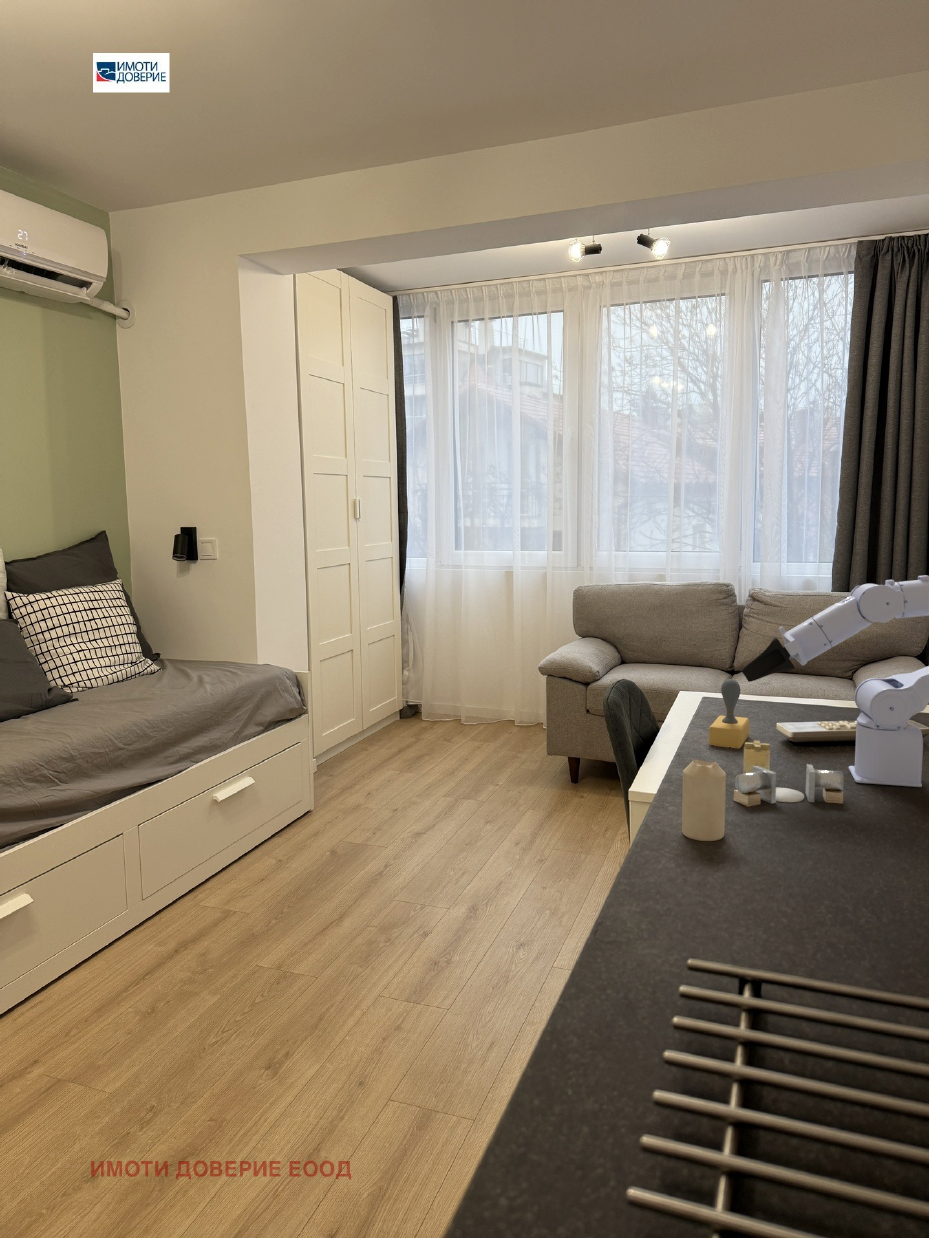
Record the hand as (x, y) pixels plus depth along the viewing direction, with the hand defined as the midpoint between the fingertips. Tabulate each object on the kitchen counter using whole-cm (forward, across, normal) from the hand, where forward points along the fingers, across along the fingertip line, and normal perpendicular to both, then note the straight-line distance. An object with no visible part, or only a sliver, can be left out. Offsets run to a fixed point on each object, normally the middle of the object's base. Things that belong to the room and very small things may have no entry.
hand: (745, 676), depth 136 cm
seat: (+5, +7, +18) cm, 20 cm away
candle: (+16, +26, +16) cm, 35 cm away
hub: (+7, -1, +15) cm, 17 cm away
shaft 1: (+9, +11, +17) cm, 22 cm away
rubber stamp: (+9, -23, +9) cm, 26 cm away
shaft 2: (0, +7, +21) cm, 23 cm away
